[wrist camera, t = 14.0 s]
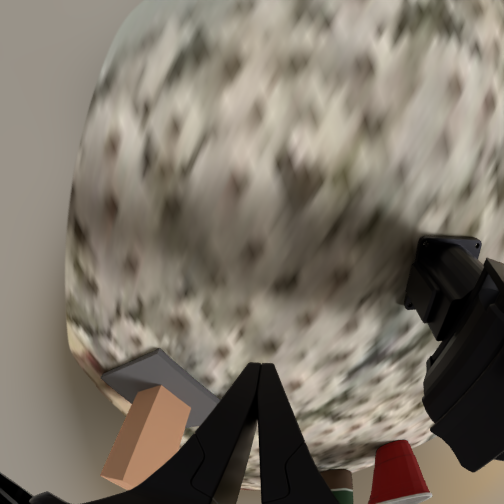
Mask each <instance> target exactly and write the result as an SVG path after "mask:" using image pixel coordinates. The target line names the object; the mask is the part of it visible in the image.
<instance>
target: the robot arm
mask: <svg viewBox="0 0 504 504" xmlns="http://www.w3.org/2000/svg"><path fill="white" fill-rule="evenodd" d="M425 241H427V243H426V244H425V245H423V244H424V242H425ZM476 244H477V245H476ZM481 245H482V243H481V241H480V240H479V239H477V238H463V237H443V236H422V237H421V238H420V239H419V242H418V247H417V252H416V257H415V261H414V263H413V264H412V267H411V272H410V276H409V280H408V284H407V287H406V296H405V300H404V306H405V308H406V309H407V310H415V309H416V311H417V312H418V314H419V316H420V318H421V320H422V321H423V323H428V325H429V327H430V329H431V331H432V333H433V335H434V337H435V339H436V340H437V341H442V342H441V344H440V345H439V347H438V348H437V350H436V351H435V353H434V354H433V355H432V356H430V358H429V359H428V360H427V362H426V367H427V373H426V376H425V379H424V382H423V385H424V397H423V398H422V402H423V405H424V407H425V410H426V412H427V414H428V415H429V417H430V418H431V420H432V421H433V422H434V423H435V424H434V425H433V426H432V427H431V428H430V431H431V432H432V433H434V434H435V435H437V436H439V437H440V438H442V439H443V440H444V441H445V442H446V443H447V444H448V445H449V446H450V448H451V449H452V450H453V452H454V454H455V455H456V457H457V459H458V460H459V462H460V464H461V466H462V467H464V468H466V469H467V470H469V471H471V472H476V471H477V470H479V469H481V468H482V467H484V466H485V465H486V464H488V463H489V462H490V461H492V460H493V459H494V460H500V461H504V264H503V263H500V262H498V261H495V260H492V259H489V258H486V260H485V263H484V265H483V264H482V263H481V262H480V261H479V260H478V257H479V253H480V249H481ZM409 303H411V304H409ZM408 304H409V305H408ZM257 422H258V433H259V456H260V479H261V502H262V504H340V503H339V501H338V500H337V498H336V497H335V495H334V494H333V492H332V491H331V489H330V488H329V486H328V485H327V483H326V482H325V480H324V478H323V477H322V475H321V473H320V472H319V470H318V468H317V466H316V465H315V463H314V460H313V458H312V456H311V454H310V452H309V449H308V447H307V445H306V443H305V440H304V438H303V435H302V433H301V430H300V428H299V425H298V423H297V421H296V418H295V416H294V413H293V411H292V408H291V406H290V403H289V401H288V398H287V396H286V393H285V391H284V388H283V386H282V383H281V381H280V378H279V376H278V373H277V370H276V368H275V365H274V364H273V363H262V364H261V363H254V362H250V363H248V364H247V366H246V367H245V368H244V370H243V371H242V372H241V374H240V375H239V376H238V378H237V379H236V380H235V382H234V383H233V384H232V386H231V387H230V388H229V390H228V391H227V392H226V393H225V395H224V396H223V397H222V399H221V400H220V401H219V403H218V404H217V405H216V406H215V408H214V409H213V410H212V411H211V413H210V414H209V415H208V416H207V418H206V419H205V420H204V421H203V423H202V424H201V425H200V426H199V428H198V429H197V430H196V431H195V434H193V435H192V436H191V437H190V438H189V440H188V441H187V442H186V443H185V444H184V445H183V446H182V447H181V448H180V450H179V451H178V452H177V453H176V454H175V455H173V456H172V457H171V458H170V459H169V460H168V461H167V462H166V463H165V464H164V465H162V466H161V467H160V468H159V469H158V470H156V471H155V472H154V473H153V474H152V475H150V476H149V477H148V478H147V479H146V480H144V481H143V482H142V483H140V484H139V485H138V486H136V487H134V488H132V489H130V490H128V491H126V492H123V493H120V494H116V495H113V496H110V497H106V498H103V499H99V500H95V501H91V502H87V503H82V504H236V502H237V499H238V495H239V492H240V488H241V485H242V481H243V477H244V474H245V470H246V466H247V462H248V459H249V455H250V451H251V447H252V443H253V439H254V435H255V431H256V427H257ZM0 504H70V503H67V502H66V501H64V500H62V499H60V498H58V497H57V496H55V495H53V494H52V493H50V492H44V493H41V494H38V495H36V496H33V495H32V494H30V493H29V492H28V491H26V490H25V489H23V488H22V487H20V486H19V485H18V484H16V483H15V482H14V481H12V480H11V479H9V478H8V477H6V476H5V475H3V474H2V473H0Z"/></svg>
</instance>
